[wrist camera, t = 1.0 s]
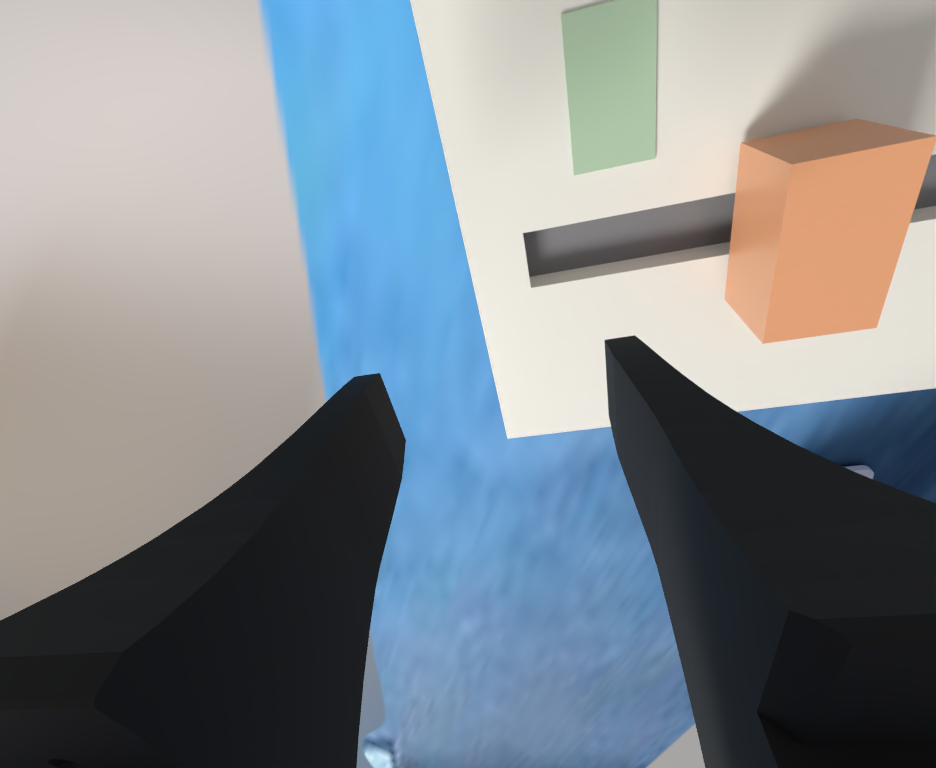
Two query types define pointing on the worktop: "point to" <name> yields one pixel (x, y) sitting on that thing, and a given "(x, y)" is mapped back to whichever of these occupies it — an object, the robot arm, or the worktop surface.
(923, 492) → the worktop surface
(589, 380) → the white flat board
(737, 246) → the switch
